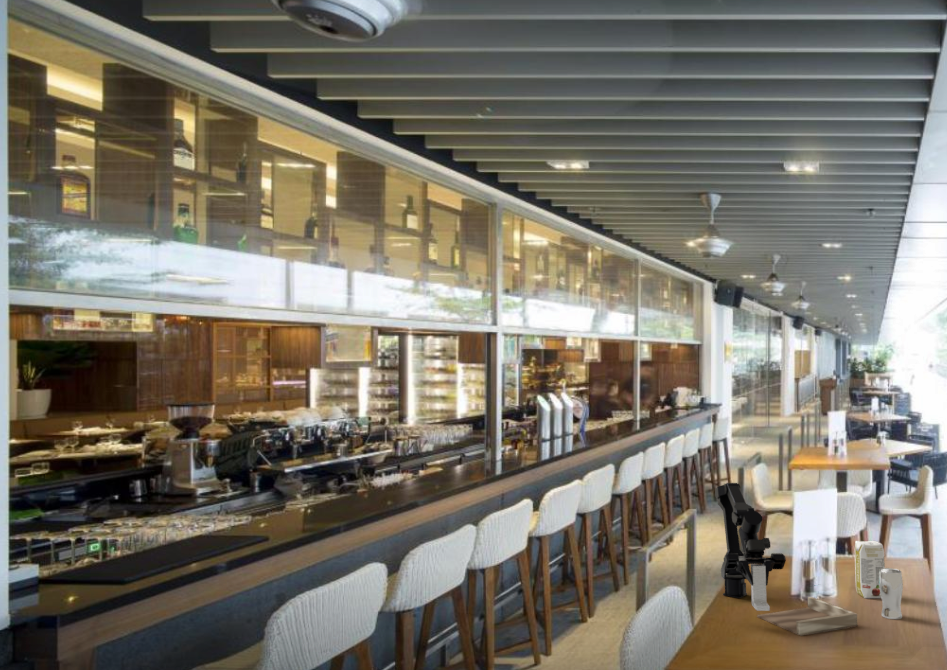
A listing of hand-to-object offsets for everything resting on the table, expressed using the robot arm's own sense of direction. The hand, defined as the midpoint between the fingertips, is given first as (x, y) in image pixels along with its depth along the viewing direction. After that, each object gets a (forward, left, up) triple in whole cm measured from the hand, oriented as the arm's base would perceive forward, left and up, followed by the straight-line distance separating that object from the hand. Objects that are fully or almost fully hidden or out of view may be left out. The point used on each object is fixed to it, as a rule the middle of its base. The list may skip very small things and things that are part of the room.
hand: (759, 584), depth 261 cm
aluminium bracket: (0, 0, -7) cm, 7 cm away
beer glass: (+29, +36, -13) cm, 48 cm away
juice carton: (+17, +56, -13) cm, 60 cm away
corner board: (+9, +14, -13) cm, 21 cm away
